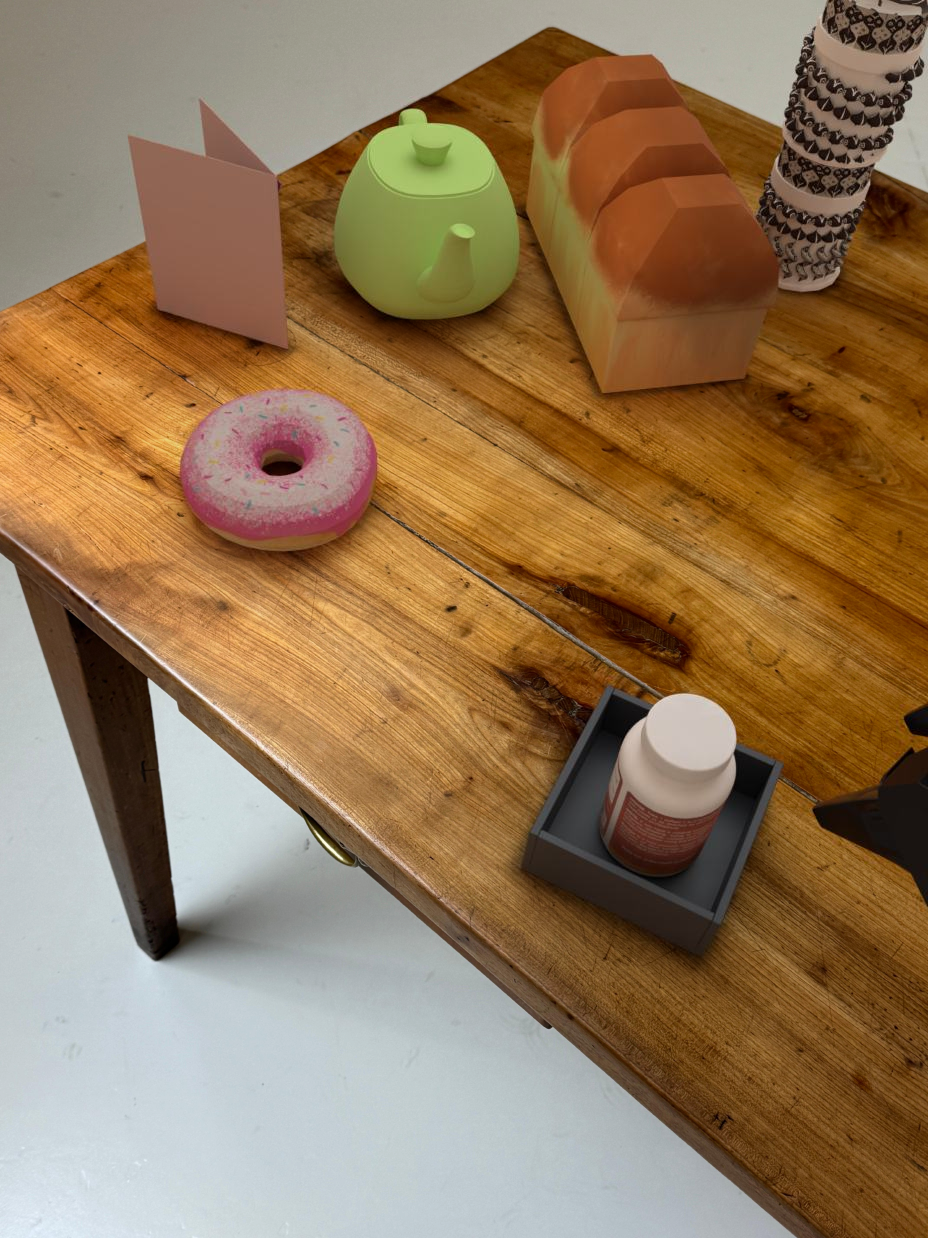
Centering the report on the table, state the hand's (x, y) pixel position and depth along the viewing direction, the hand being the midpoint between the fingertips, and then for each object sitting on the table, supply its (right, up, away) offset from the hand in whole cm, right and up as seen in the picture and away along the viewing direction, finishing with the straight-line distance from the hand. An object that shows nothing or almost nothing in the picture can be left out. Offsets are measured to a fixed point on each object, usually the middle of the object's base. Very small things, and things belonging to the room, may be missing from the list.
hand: (864, 767), depth 58 cm
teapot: (-23, +35, +40) cm, 58 cm away
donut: (-33, +16, +25) cm, 44 cm away
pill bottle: (-9, -5, +10) cm, 15 cm away
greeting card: (-39, +31, +36) cm, 61 cm away
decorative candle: (+9, +39, +45) cm, 60 cm away
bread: (-6, +35, +41) cm, 55 cm away
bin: (-9, -5, +11) cm, 15 cm away
